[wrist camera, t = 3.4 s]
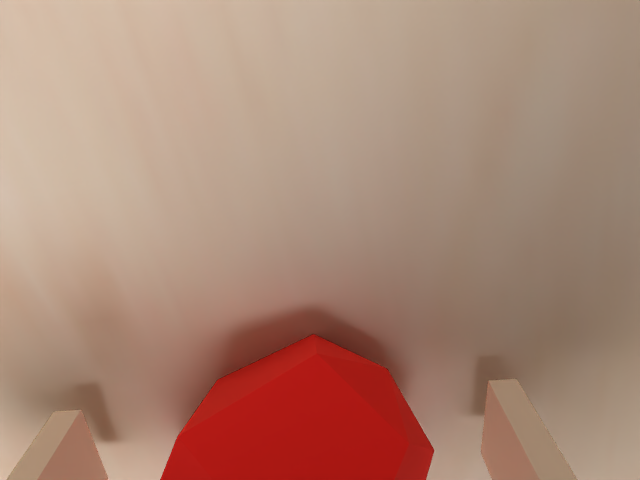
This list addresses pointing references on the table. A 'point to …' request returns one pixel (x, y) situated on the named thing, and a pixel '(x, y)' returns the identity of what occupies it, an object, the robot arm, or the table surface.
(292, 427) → the apple
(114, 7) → the table surface
